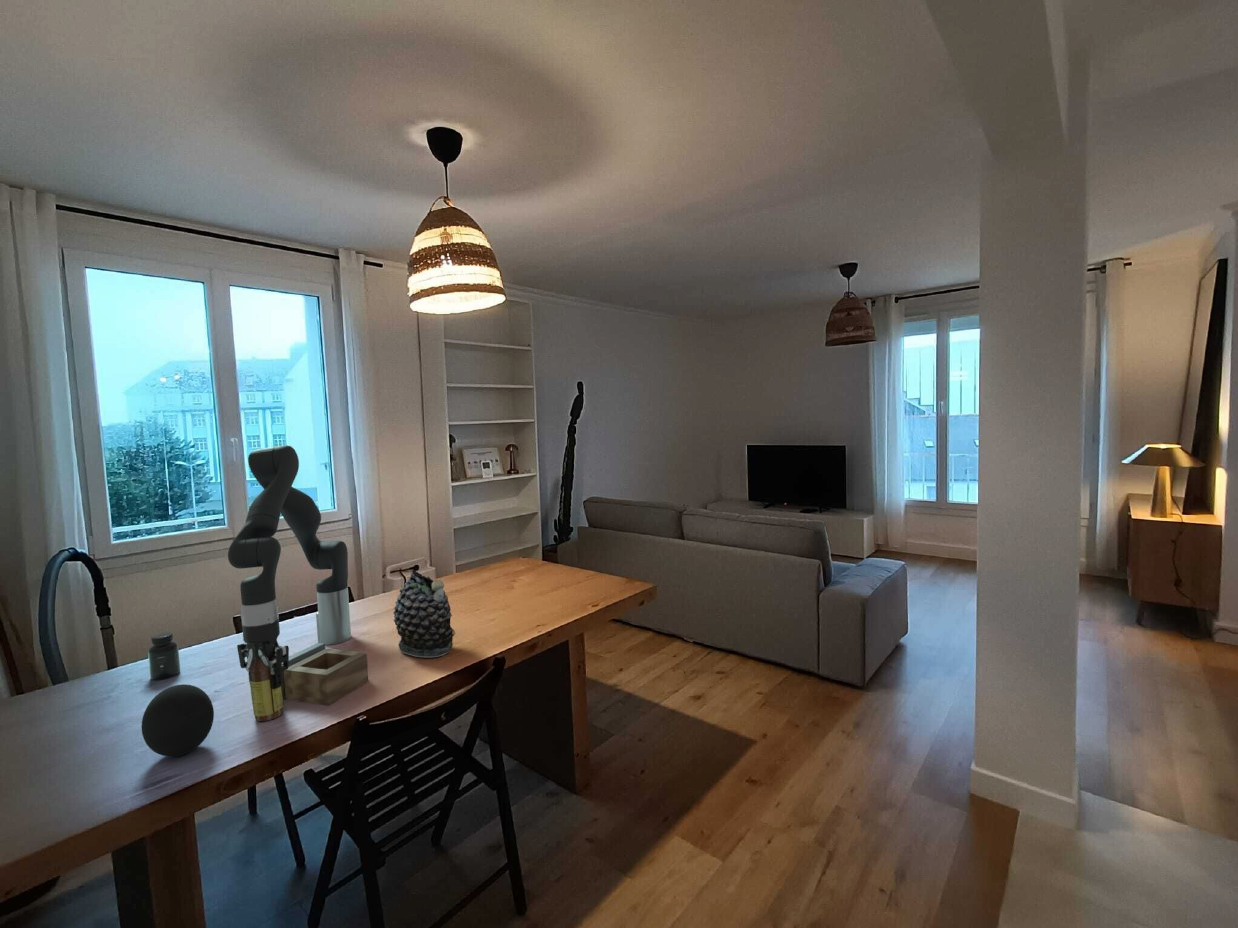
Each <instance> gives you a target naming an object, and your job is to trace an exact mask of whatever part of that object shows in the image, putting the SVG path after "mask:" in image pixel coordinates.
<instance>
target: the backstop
mask: <svg viewBox="0 0 1238 928" xmlns="http://www.w3.org/2000/svg"><path fill="white" fill-rule="evenodd" d="M324 649H326V645H325V643H321V642H317V643H314V644H312V645H310V646H308V647H306V648H304V649H302V650H299V651H298V652H295V653H294V654H291V655H289V667H290V666H292V665H294V664H296V663H298V662H300V661H302V660H304V659H306V658H308V657H310V656H312V655H314V654H316V653H318V652H320V651H322V650H324ZM282 665H283V663H282ZM281 675H282V685H281V691H282V698H283V699H284V698H286V695H285V682H284V671H282V672H281Z"/></svg>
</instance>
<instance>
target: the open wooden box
mask: <svg viewBox="0 0 1238 928" xmlns="http://www.w3.org/2000/svg"><path fill="white" fill-rule="evenodd" d="M284 682H285V695H286V697H285V700H289V701H295V702H302V703H309V704H315V705H322V706H330V705H332V704H334V703H335V702H337V701H338V700H340V699H342V698H343V697H345V696H347V695H348V694H350V693H352V692H353V691H355V690H357V689H358V688H359V687H361V686H363V685H365V684H366V683H368V682H369V669H368V653H367V652H362V651H354V650H351V651H350V650H344V649H343V650H342V649H333V648H325V649H324V650H322V651H320V652H318V653H316V654H314V655H312V656H310V657H308V658H306V659H304V660H302V661H300V662H298V663H296V664H294V665H292V666H290V667H288V669H286V670H284Z"/></svg>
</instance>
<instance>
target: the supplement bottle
mask: <svg viewBox="0 0 1238 928" xmlns="http://www.w3.org/2000/svg"><path fill="white" fill-rule="evenodd" d="M150 639H151V642H150V643H151V644H152V645H151V646H150V647H149V648H147V649H148V650H147V656H148V658H147V659H148V664H149V665H148V666H149V667H148V668H149V675H150V676H149V677H150V679H151V680H153V681H161V680H163V681H164V680H167V679H170V678H173V677H175V676H177V675H178V674H179V673H180V672H181V664H180V663H181V662H180V652H179V644H178V643H177V642H176V641H174V635H173V632H162V633H158V634H155V635H152V636H151V638H150Z"/></svg>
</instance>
